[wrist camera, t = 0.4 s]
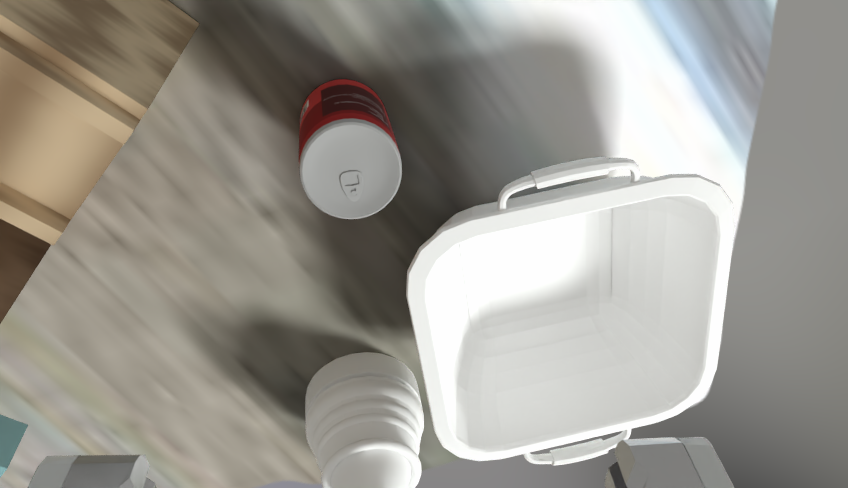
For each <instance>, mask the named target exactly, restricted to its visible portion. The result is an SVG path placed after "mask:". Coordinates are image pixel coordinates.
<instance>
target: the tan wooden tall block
mask: <svg viewBox="0 0 848 488" xmlns="http://www.w3.org/2000/svg"><path fill="white" fill-rule="evenodd" d="M198 25H199V23H198V22H197V21H195V20H194V19H193V18H191V17H190V16H188V15H187V14H186V13H184V12H183V11H182V10H180V9H179V8H178V7H176V6H175V5H173V4H172V3H171V2H169V1H168V0H0V219H2V220H4V221H6V222H8V223H10V224H12V225H14V226H16V227H18V228H20V229H22V230H24V231H26V232H28V233H30V234H32V235H34V236H36V237H38V238H40V239H42V240H44V241H46V242H48V243H50V244H51V245H53V246H54V244H55V243H56V242H57V240H58V239H59V237H60V236H61V234H62V233H63V231H64V230H65V228H66V227H67V225H68V223H69V222H70V220H71V219H72V217H73V216H74V215H75V213H76V212H77V210H78V209H79V207H80V206H81V204H82V203H83V202H84V200H85V199H86V197H87V196H88V194H89V193H90V192H91V190H92V189H93V187H94V186H95V184H96V183H97V181H98V180H99V179H100V177H101V176H102V174H103V173H104V171H105V170H106V169H107V167H108V166H109V164H110V163H111V161H112V160H113V159H114V157H115V156H116V154H117V153H118V151H119V150H120V148H121V147H122V146H123V144H125V143H126V141H127V140H128V138H129V137H130V135H131V134H132V133H133V131H134V130H135V128H136V126H137V125H138V123H139V121H140V120H141V118H142V117H143V115H144V114H145V113H146V111H147V110H148V108H149V106H150V105H151V103H152V102H153V100H154V98H155V97H156V95H157V93H158V92H159V90H160V88H161V87H162V85H163V83H164V82H165V80H166V78H167V77H168V75H169V73H170V72H171V70H172V68H173V67H174V65H175V63H176V62H177V60H178V58H179V57H180V55H181V54H182V52H183V50H184V49H185V47H186V45H187V44H188V42H189V40H190V39H191V37H192V35H193V34H194V32H195V30H196V29H197V27H198Z"/></svg>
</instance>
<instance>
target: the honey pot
mask: <svg viewBox="0 0 848 488" xmlns="http://www.w3.org/2000/svg"><path fill="white" fill-rule="evenodd" d="M305 419H306V422H305V423H306V429H305V430H306V436H307V441H308V445H309V446H310V448H311V450H312V451H313V454H314V456H315V458H316V460H317V465H318V467H319V469H320V470H321V472H322V476H321V481H322V487H323V488H415V487H416V485H417V484H418V482H419V479H420V476H421V462H420V460H419V458H418V454H419V450H420V449H419V444H420V441H421V435H422V432H423V429H424V413H423V411H422V406H421V399H420V395H419V390H418V385H417V382H416V379H415V377H414V374H413V373H412V371H411V370H410V369H409V368H408V367H407V366H406V365H405V364H404V363H402V362H401V361H399V360H397V359H396V358H394V357H391V356H388V355H384V354H381V353H371V352H362V353H354V354H349V355H346V356H343V357H340V358H337V359H335V360H333V361H331V362H330V363H328V364H326V365H325V366H323V367H322V368H321V369H320V370H319V371H318V372H317V373H316V374H315V375H314V376H313V378H312V379H311V381H310V383H309V385H308V387H307V392H306V397H305Z"/></svg>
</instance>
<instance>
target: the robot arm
mask: <svg viewBox="0 0 848 488" xmlns="http://www.w3.org/2000/svg"><path fill="white" fill-rule="evenodd" d="M614 453H615V456H616V458H617V462H616V463H614V464H613V465H612V466H610V467H609V468H608V472H607V475H606V478H605V488H734V486H733V484H732V482H731V480H730V479H729V477H728V475H727V473H726V471H725V469H724V467H723V465H722V463H721V461H720V460H719V458H718V456H717V454H716V452H715V450H714V448H713V446H712V444H711V443H710V442H709V441H708V440H707V439H706V438H704V437H692V438H674V437H672V438H671V437H670V438H649V439H626V440H621V441H620V442H619V443H618V444H617V446H616V449H615V452H614ZM149 468H150V466H149V463H148V461H147V458H146V456H145V455H87V456H81V455H73V456H47V457H46V458H45V459H44V460H43V461H42V462H41V463H40V465H39V466H38V467H37V469H36V471H35V473H34V475H33V478H32V480H31V482H30V484H29V486H28V488H156V485H155V483H154V482H153V481H151V480H150V479H148V478H147V474H148V471H149Z"/></svg>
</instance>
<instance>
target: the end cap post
mask: <svg viewBox="0 0 848 488" xmlns="http://www.w3.org/2000/svg"><path fill="white" fill-rule="evenodd" d="M50 246H51V244H50V243H48V242H46V241H44V240H42V239H40V238H38V237H36V236H34V235H32V234H30V233H28V232H26V231H24V230H22V229H20V228H18V227H16V226H14V225H12V224H10V223H8V222H6V221H4V220H2V219H0V323H1V322H2V320H3V319H4V317H5V316H6V314H7V312H8V311H9V309H10V308H11V306H12V305H13V303H14V302H15V300H16V298H17V297H18V295H19V294H20V292H21V291H22V289H23V288H24V286H25V284H26V283H27V281H28V280H29V278H30V277H31V275H32V274H33V272H34V270H35V269H36V267H37V266H38V264H39V263H40V261H41V260H42V258H43V256H44V255H45V253H46V252H47V250H48V249H49V247H50Z"/></svg>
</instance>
